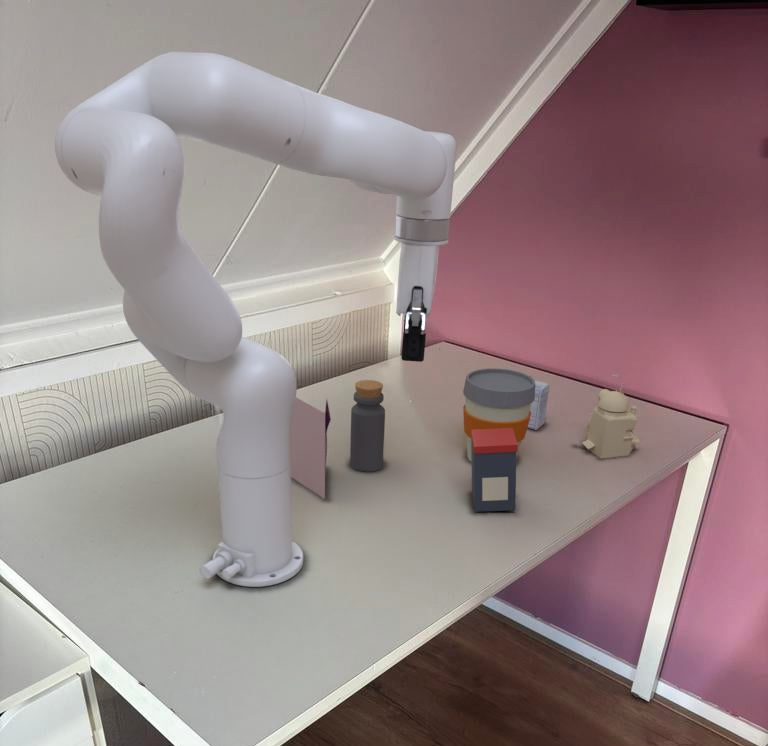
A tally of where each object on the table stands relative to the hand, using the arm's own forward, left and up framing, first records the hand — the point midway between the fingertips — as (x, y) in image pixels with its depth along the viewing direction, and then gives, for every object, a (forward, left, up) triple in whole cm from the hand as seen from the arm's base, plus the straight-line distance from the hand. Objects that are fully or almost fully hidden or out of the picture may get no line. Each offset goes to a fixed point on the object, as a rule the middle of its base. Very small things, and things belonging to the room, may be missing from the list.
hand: (412, 350), depth 119 cm
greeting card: (-4, +16, -25) cm, 30 cm away
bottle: (+8, +12, -25) cm, 29 cm away
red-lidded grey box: (+5, -9, -19) cm, 22 cm away
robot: (+41, -21, -25) cm, 52 cm away
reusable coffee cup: (+24, -5, -25) cm, 35 cm away
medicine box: (+43, -3, -25) cm, 50 cm away
